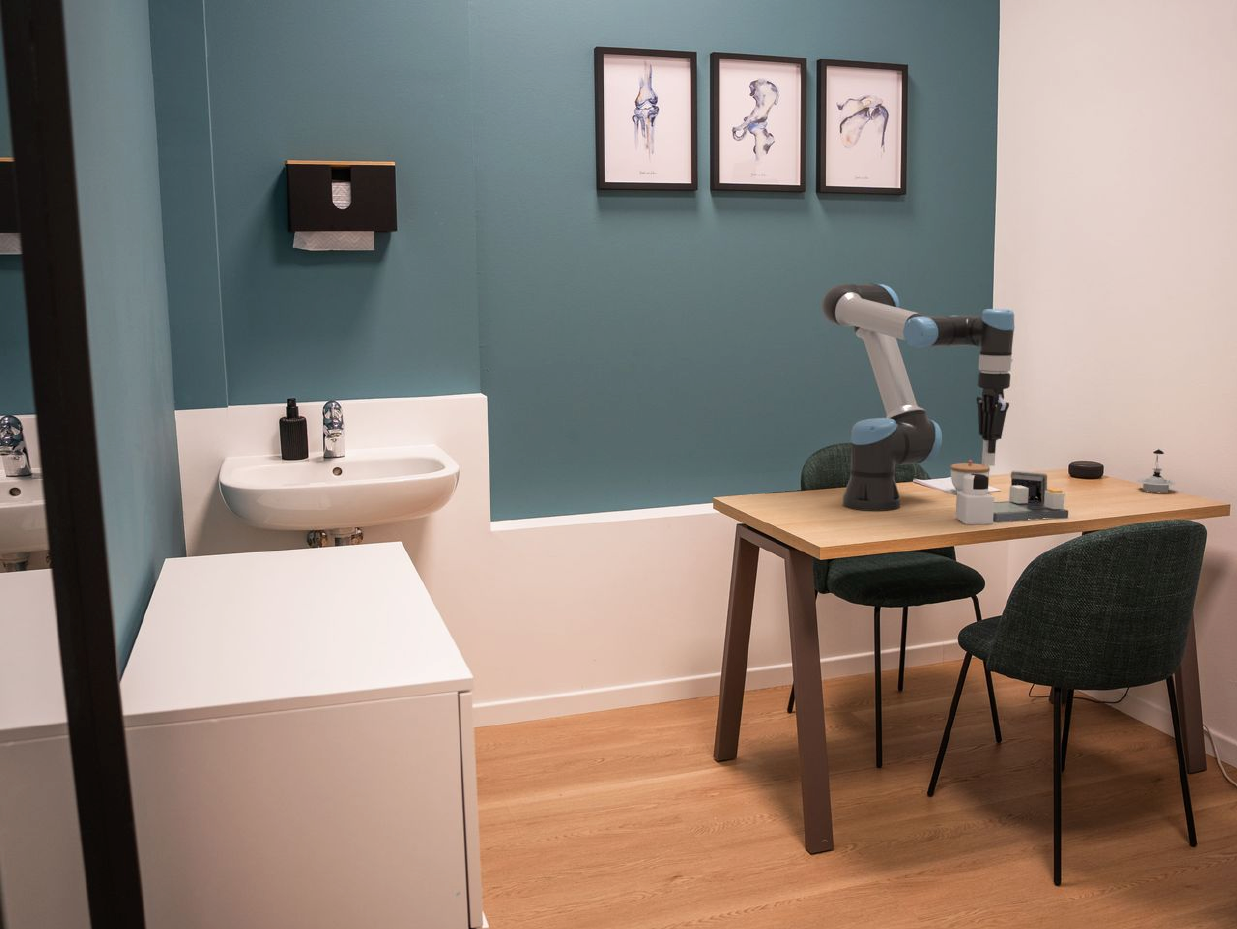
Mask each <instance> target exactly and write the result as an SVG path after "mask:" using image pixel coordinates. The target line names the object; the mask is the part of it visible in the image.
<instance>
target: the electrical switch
mask: <svg viewBox="0 0 1237 929" xmlns="http://www.w3.org/2000/svg"><path fill="white" fill-rule="evenodd" d="M1010 478H1011V481H1010V483H1011V484H1010V486H1018V485H1021V486H1024V487H1027V488H1029V492H1028V500H1039V501H1042V502H1044V496H1045V491H1047V489H1048V474H1047V473H1045V472H1037V471H1025V470H1012V471H1011V472H1010Z"/></svg>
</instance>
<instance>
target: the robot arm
mask: <svg viewBox="0 0 1237 929" xmlns="http://www.w3.org/2000/svg"><path fill="white" fill-rule="evenodd" d="M899 301H900V300H899V297H898V294H896V292H895V291H894V289H893V288H891V287H890V286H888V285H886V284H883V283H881V284H880V283H875V282H873V283H842V284H838V285H835V286H833V287H832V288H830V289H829V290H828V291H827V292H826V293H825V295H824V297H823V299H822V304H821V310H822V314H823V316H824V317H825V319H826V320H827V321H828V322H829V323H831V324H834V325H837V326H840V327H844V328H849V327H852V326H853V328H854V329H853V330H854V332H855V335H856V337H858V338H860V339H862V340H863V343H864V346H865V348H866V349H865V350H866V353H867V355H868V359H869V362H870V365H871V368H872V371H873V375H874V378H875V381H876V385H877V388H878V392H879V394H880V398H881V401H882V404H883V406H884V410H885V413H886V417H875V418H868V419H867V418H866V419H863V420H860V421H857V422H856V423H854V424H853V426H852V428H851V437H850V474H849V476H850V477H849V479H848V483H847V485H846V488H845V491H844V493H843V497H842V505H843V506H845V507H846V508H850V509H853V510H854V509H855V510H860V511H893V510H897V509H898V508H900V506H901V497H900V494H899V490H898V487H897V483H896V480H895V468H896V466H901V465H911V464H915V465H917V464H922V463H925V462H930V461H932V460H933V459H934V458H936V456H938V454H939V452H940V450H941V447H942V445H943V444H942V443H943V433H942V430H941V429H942V428H941V427H940V425H939V423H937V422H935V420H932V419H928V416H927V412H926V409H924V408H922V407H920V406H918V403H917V401H916V398H915V394H914V392H913V389H912V385H911V382H910V379H909V375H908V374H907V373H908V372H907V370H906V367H905V363H904V361H903V356H902V354H901V351H900V348H899V344H898V341H897V339H898V340H902V341H905V342H906V344H907V345H909V346H910V347H912V348H919V349H921V348H922V349H925V348H932V347H933V348H937V347H961V346H965V347H967V346H969V347H979V356H978V357H979V358H978V359H979V360H978V370H979V371H980V372H979V373H978V375H977V386H978V388H980V389H982V390H981V396H976V404H977V418H978V421H977V422H978V434H979V436H981V438H982V454H981V464H982V465H983V466H989V467H990V466H991V467H992V466H995V462H996V448H997V441H998V440H1001V439H1002V438H1003V437H1002V436H1003V432H1004V427H1005V422H1006V417H1007V416H1006V415H1007V412H1008V410H1009V407H1010V402H1006V401H1005V392H1004V391H1005V389H1006V390H1007V389H1008V388H1010V386H1011V383H1010V382H1011V374H1010V373H1009V372H1010V371H1011V369H1012V368H1011V366H1012V362H1013V359H1012V355H1013V353H1012V351H1013V342H1014V341H1013V340H1014V332H1015V314H1014V311H1013V310H1012V309H1005V308H1004V309H1000V308H986V309H984V310H983V311H982V314H981V316H973V315H964V314H956V315H946V316H931V315H926V314H923V313H920V312H916V311H911V310H907V309H904V308H900V302H899Z"/></svg>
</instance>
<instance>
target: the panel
mask: <svg viewBox="0 0 1237 929" xmlns="http://www.w3.org/2000/svg"><path fill="white" fill-rule="evenodd" d="M1043 518H1062V519H1069V510H1068V509H1065V508H1064V509H1051V508H1048V507H1045V506H1044V502H1042V501H1039V500H1028V503H1019V504H1017V503H1014V502H1012V501H1009V500H1008V501H1007V500H1006V501H994V511H993V522H995V523H999V522H1000V523H1002V522H1004V523H1005V522H1019V521H1018V520H1024V521H1029V520H1028V519H1043ZM1043 520H1044V519H1043Z"/></svg>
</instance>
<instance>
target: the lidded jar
mask: <svg viewBox="0 0 1237 929" xmlns="http://www.w3.org/2000/svg"><path fill="white" fill-rule="evenodd" d="M990 470H991V468H990V466H983V465H982V463H973V460H971V459H970V460H968V462H963V463H960V462H959V463H953V464H950V479H951V484H952V487H954V489H955V490H956V492H958V491H964V490H963V477H964V476H965V475H967V474H982V475H985V476H987V477H988V478H989V477H990ZM989 479H990V478H989Z"/></svg>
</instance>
